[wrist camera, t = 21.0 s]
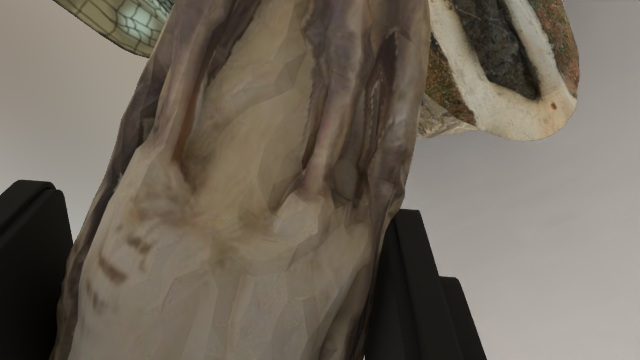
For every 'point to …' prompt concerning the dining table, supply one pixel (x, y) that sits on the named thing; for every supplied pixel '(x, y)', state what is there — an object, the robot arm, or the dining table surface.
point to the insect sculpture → (123, 21)
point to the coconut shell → (499, 69)
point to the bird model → (251, 185)
